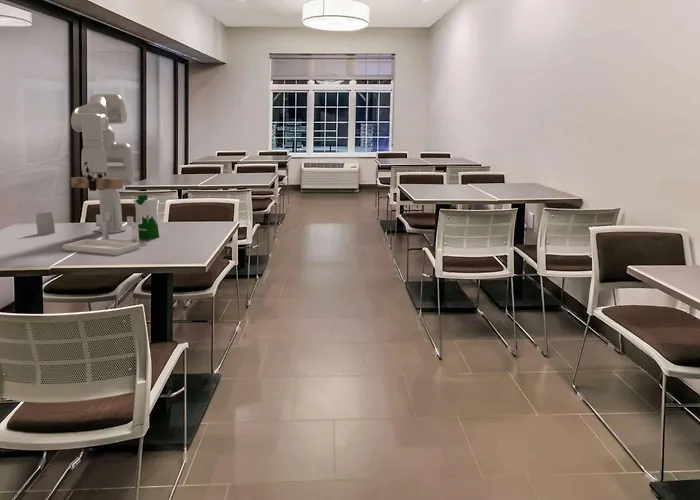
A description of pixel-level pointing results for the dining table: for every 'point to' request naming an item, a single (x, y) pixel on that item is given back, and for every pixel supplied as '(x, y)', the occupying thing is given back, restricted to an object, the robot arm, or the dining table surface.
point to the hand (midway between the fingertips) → (97, 189)
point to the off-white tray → (101, 246)
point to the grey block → (45, 223)
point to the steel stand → (129, 223)
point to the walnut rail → (97, 183)
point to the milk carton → (147, 217)
